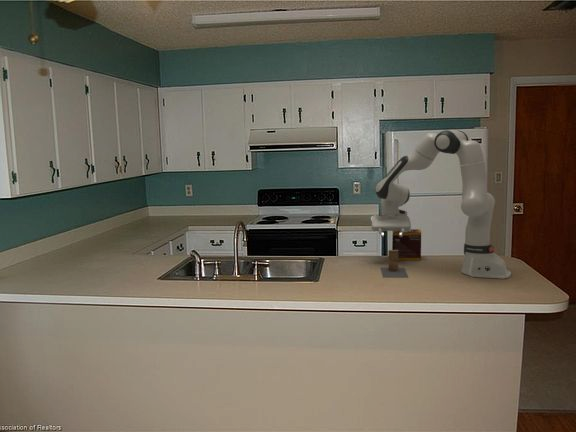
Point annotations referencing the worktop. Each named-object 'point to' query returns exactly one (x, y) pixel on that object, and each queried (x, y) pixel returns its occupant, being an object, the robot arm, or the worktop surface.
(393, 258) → the walnut block
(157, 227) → the worktop surface
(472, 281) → the worktop surface
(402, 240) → the supplement box
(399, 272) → the rubber mat
